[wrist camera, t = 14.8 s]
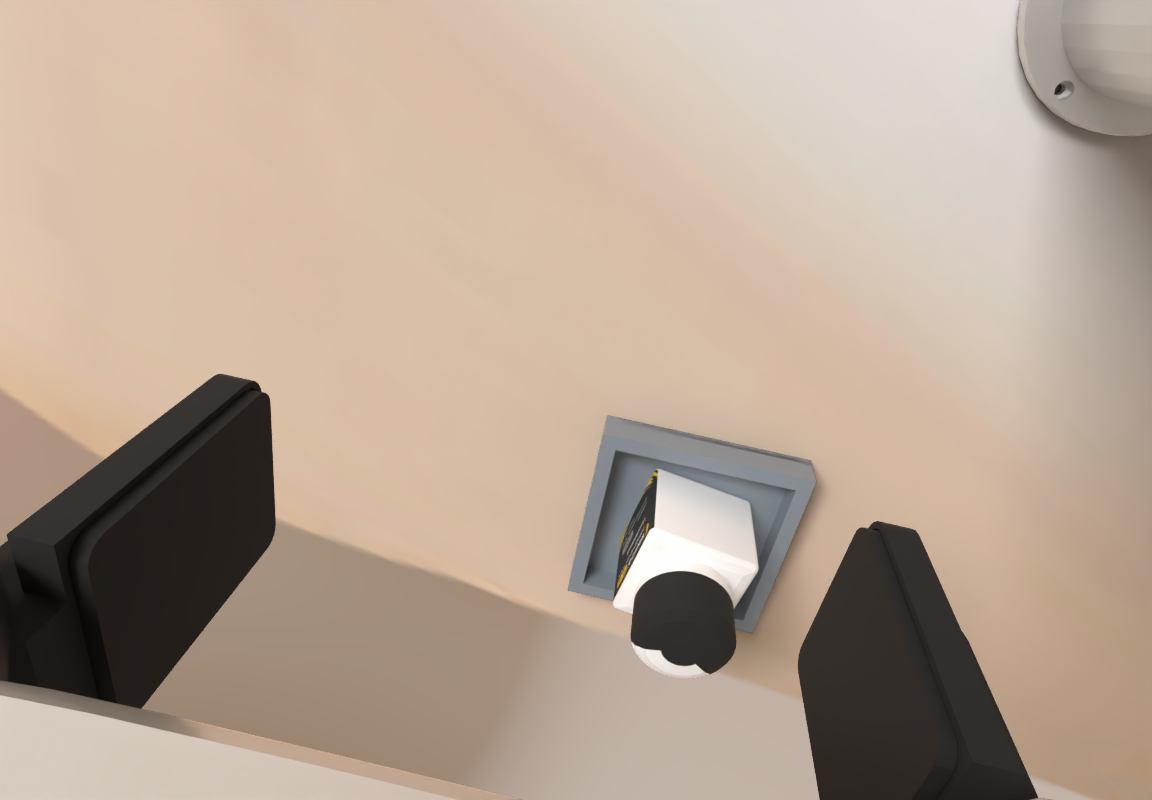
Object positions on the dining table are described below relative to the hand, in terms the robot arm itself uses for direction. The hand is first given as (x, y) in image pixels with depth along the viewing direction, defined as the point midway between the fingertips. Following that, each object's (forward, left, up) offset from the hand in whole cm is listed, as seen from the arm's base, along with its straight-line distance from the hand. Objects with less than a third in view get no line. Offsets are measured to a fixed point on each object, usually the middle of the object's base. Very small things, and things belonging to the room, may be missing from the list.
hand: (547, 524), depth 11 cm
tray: (-8, +24, -33) cm, 42 cm away
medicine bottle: (-8, +24, -33) cm, 41 cm away
